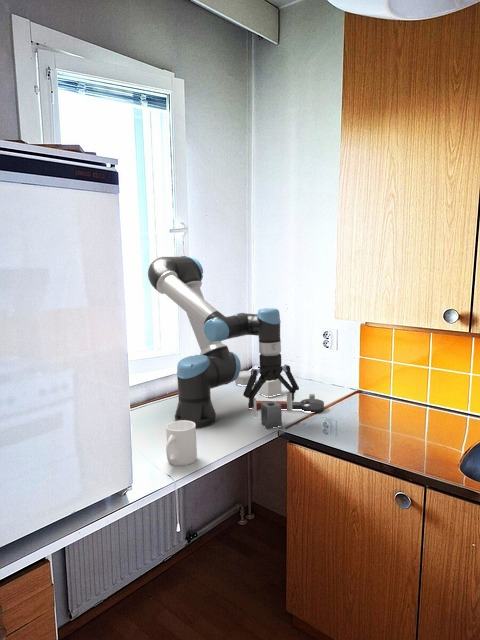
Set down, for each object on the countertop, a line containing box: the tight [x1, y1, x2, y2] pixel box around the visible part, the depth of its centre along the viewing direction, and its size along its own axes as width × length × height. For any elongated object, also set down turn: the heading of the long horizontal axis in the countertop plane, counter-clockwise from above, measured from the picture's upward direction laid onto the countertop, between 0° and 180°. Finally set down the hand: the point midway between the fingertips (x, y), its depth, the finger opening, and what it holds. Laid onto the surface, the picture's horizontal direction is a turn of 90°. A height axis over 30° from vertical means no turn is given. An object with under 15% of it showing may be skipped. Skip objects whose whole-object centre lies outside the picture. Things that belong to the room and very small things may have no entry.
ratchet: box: [247, 393, 325, 414], centre depth 180 cm, size 29×9×6 cm, turn 81°
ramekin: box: [234, 370, 258, 385], centre depth 217 cm, size 11×11×5 cm
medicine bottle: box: [257, 378, 282, 397], centre depth 199 cm, size 7×7×12 cm
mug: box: [165, 420, 198, 467], centre depth 135 cm, size 9×12×11 cm
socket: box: [260, 400, 283, 430], centre depth 163 cm, size 5×5×8 cm
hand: (272, 413), depth 163 cm, fingers open, 13 cm apart
